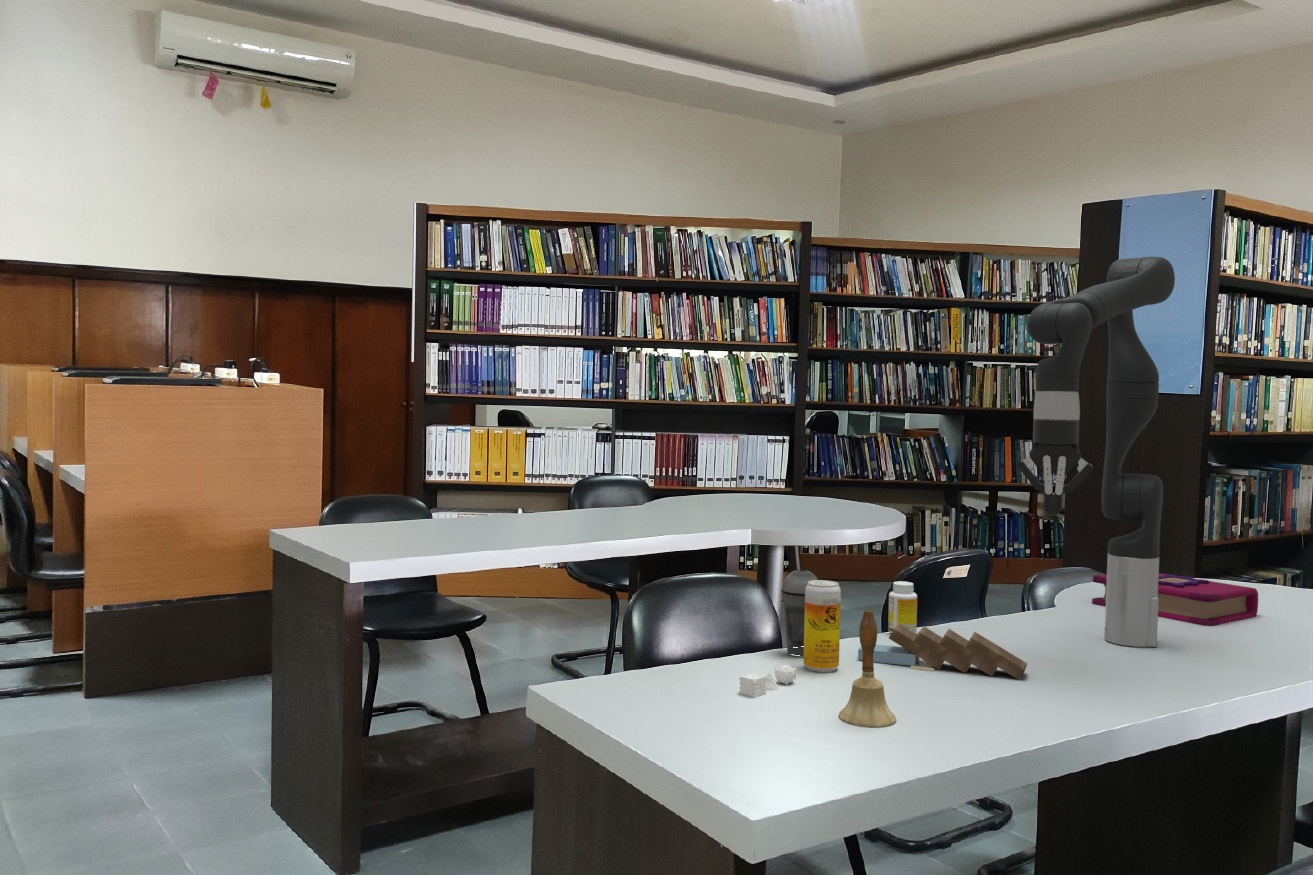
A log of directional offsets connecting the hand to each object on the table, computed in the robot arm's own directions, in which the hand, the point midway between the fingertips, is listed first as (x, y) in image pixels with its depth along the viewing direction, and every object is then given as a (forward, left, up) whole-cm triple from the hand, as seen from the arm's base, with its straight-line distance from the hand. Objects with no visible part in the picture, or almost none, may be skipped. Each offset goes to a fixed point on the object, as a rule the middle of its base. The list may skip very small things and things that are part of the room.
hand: (1053, 515), depth 178 cm
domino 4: (+8, +9, -26) cm, 29 cm away
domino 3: (+12, +9, -26) cm, 30 cm away
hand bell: (+23, +44, -27) cm, 57 cm away
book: (-24, -68, -28) cm, 77 cm away
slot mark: (+20, +9, -27) cm, 35 cm away
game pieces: (+41, +36, -28) cm, 61 cm away
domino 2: (+17, +9, -26) cm, 32 cm away
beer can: (+36, +20, -27) cm, 49 cm away
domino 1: (+21, +9, -26) cm, 35 cm away
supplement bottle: (+28, -14, -27) cm, 41 cm away
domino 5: (+4, +9, -26) cm, 28 cm away
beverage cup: (+42, +12, -27) cm, 51 cm away
